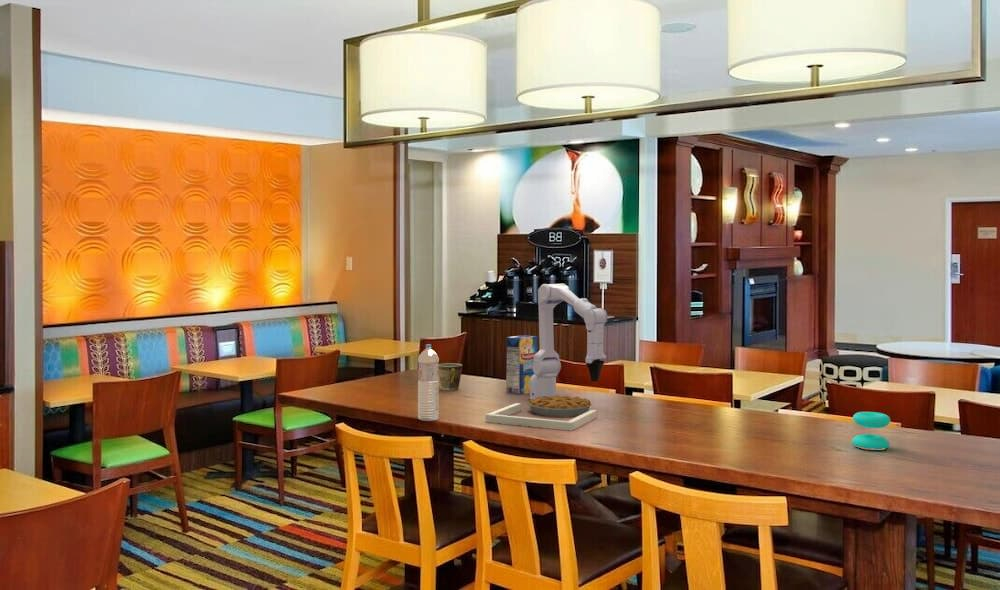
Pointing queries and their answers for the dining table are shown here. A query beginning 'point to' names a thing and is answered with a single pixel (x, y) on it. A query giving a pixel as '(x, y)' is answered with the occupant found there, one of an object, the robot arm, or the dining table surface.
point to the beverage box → (520, 363)
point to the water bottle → (428, 385)
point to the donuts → (871, 422)
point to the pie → (559, 406)
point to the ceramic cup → (449, 375)
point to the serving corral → (537, 419)
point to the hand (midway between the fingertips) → (594, 381)
